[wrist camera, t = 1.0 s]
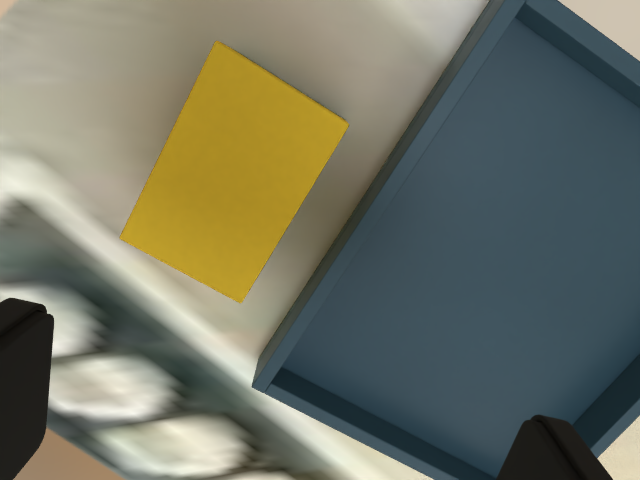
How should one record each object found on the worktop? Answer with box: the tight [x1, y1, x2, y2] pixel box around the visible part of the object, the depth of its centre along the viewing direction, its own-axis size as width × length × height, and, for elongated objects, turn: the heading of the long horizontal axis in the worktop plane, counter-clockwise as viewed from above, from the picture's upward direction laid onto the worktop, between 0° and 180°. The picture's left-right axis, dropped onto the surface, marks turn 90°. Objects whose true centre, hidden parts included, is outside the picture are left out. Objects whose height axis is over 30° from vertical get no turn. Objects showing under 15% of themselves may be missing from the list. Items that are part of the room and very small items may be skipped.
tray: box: [252, 0, 640, 480], centre depth 24 cm, size 20×24×3 cm
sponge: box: [120, 41, 349, 303], centre depth 22 cm, size 10×6×4 cm, turn 149°
